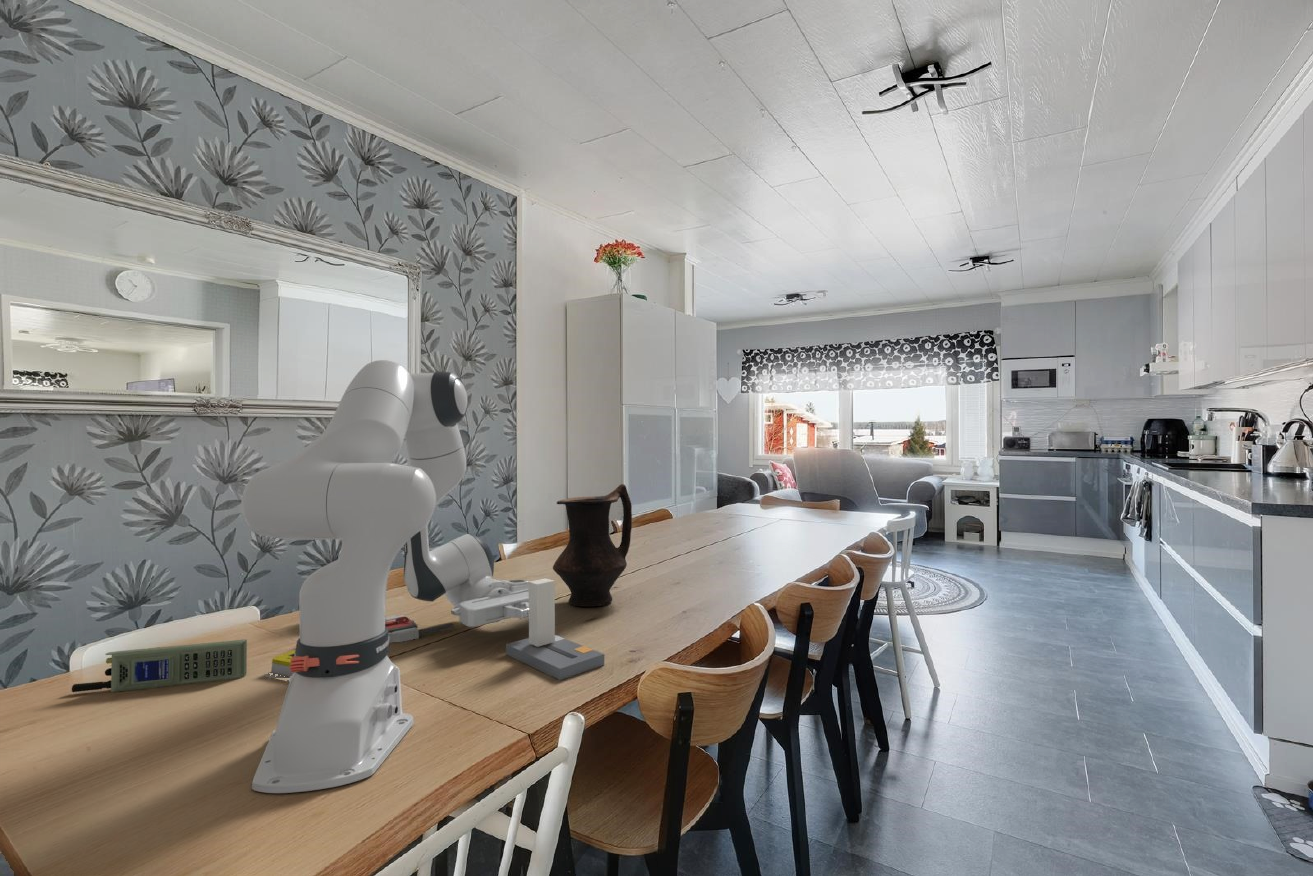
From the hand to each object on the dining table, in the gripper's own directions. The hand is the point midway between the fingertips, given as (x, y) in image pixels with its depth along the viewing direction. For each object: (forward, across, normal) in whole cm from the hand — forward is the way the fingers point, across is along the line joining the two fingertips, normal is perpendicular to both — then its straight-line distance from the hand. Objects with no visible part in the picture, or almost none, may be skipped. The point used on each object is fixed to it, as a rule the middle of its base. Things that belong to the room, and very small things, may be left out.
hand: (527, 613), depth 123 cm
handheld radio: (-30, -54, +8) cm, 63 cm away
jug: (-17, +31, +7) cm, 36 cm away
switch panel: (+9, 0, +7) cm, 11 cm away
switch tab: (+5, 0, +5) cm, 7 cm away
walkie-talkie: (-26, -15, +8) cm, 31 cm away
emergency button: (-21, -33, +8) cm, 40 cm away
